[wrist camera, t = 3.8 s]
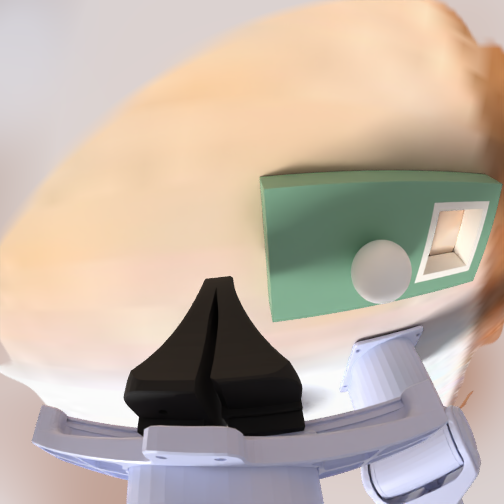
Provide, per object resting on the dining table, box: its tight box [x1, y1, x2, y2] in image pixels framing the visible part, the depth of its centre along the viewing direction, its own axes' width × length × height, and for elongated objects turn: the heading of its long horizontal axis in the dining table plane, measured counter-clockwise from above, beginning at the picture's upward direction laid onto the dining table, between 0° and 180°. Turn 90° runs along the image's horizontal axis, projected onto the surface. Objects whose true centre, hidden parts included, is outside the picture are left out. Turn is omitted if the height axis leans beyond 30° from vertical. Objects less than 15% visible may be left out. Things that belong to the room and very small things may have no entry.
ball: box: [351, 240, 412, 304], centre depth 14 cm, size 4×4×4 cm
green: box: [260, 170, 502, 322], centre depth 16 cm, size 9×18×2 cm, turn 95°
